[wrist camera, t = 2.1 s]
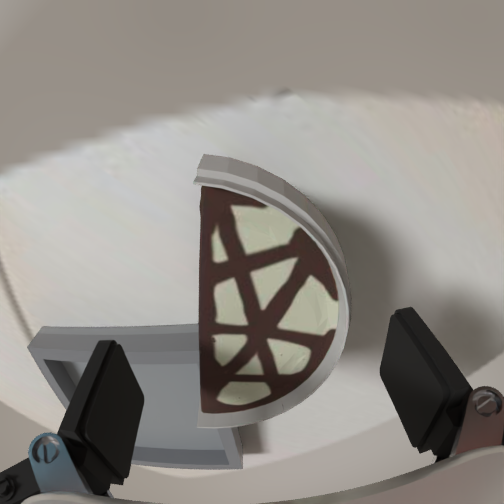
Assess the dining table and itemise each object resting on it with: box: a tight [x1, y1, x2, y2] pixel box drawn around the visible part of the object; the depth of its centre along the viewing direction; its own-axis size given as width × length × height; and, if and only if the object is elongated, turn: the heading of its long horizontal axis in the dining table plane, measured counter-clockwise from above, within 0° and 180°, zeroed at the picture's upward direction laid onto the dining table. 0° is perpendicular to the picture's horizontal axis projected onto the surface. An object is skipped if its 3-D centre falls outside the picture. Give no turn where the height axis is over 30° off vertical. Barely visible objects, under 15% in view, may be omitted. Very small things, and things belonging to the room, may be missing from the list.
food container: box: [193, 154, 351, 429], centre depth 16 cm, size 12×6×10 cm, turn 175°
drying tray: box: [27, 324, 243, 469], centre depth 25 cm, size 16×18×3 cm
